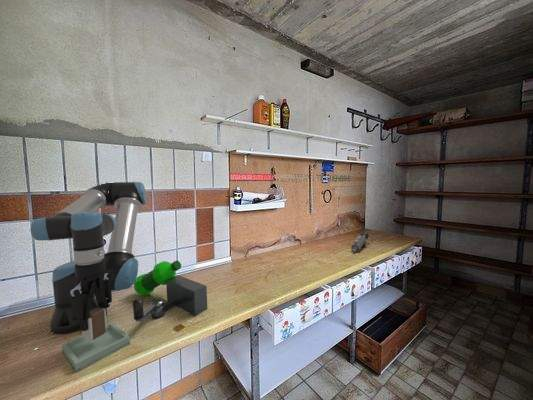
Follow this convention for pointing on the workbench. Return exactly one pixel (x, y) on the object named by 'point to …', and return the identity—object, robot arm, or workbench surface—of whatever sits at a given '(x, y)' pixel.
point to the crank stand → (183, 298)
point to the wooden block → (97, 322)
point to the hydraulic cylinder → (360, 241)
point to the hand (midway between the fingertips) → (95, 333)
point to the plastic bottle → (156, 277)
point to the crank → (138, 308)
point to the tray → (94, 347)
